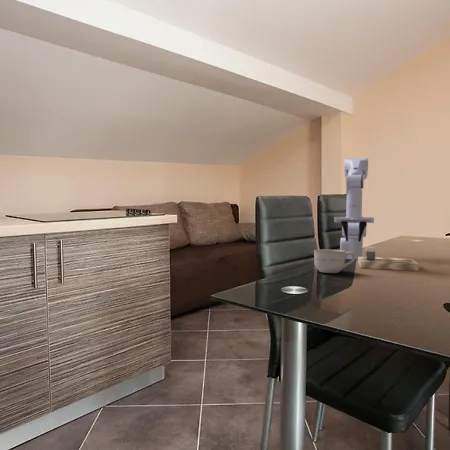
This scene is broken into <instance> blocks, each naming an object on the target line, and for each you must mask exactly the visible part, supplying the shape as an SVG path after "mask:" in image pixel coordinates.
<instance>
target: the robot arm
mask: <svg viewBox="0 0 450 450" xmlns="http://www.w3.org/2000/svg"><path fill="white" fill-rule="evenodd" d="M343 169H344V177H345V191H346V205H345V206H346V207H345V208H346V209H345V210H346V211H345V214H346V215H345V216H334V218H333V219H334V220H333V221H334V223H340V224H341V226H342V227H341V235H342V236H343V237H341V238H340V241H339V245H340V247H339V250H344V251H345V253H346V252H352V253H354V255H355V260H357V261H358V257H364V256H363V251H364V250H363V249H364V248H363V247H364V245H363V243H364V238H366V236H367V226H368V224H369V223H370V224H374V223H375V218H374V217H367V216H366V217H365V216H363V213H362V212H363V190H364V184H365V181H364V180H367V178H368V173H369V172H368V171H369V158H368V157H359V158H358V157H357V158H348V157H346V158H345V159H344V168H343ZM351 259H352V255H350V254H348V255H347V256H346V259H345V260H351Z"/></svg>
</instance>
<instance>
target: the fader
mask: <svg viewBox="0 0 450 450" xmlns="http://www.w3.org/2000/svg"><path fill="white" fill-rule="evenodd" d="M365 257H366V259H372V260H375V257H376V247H375V246H365Z"/></svg>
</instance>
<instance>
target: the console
mask: <svg viewBox="0 0 450 450" xmlns="http://www.w3.org/2000/svg"><path fill="white" fill-rule="evenodd" d="M357 263H358V265H359V268H360V269H369V270H370V269H371V270H372V269H373V270H374V269H375V270H396V271H420V270H419V269H420V268H419V267H420V263H418V262H417V261H416V260H415V259H413V258H405V257H404V258H401V257H380V256H379V257H378V256H377V257H376V256H375V260H372V259H366V256H363V257H358V260H357Z"/></svg>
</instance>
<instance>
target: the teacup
mask: <svg viewBox="0 0 450 450" xmlns="http://www.w3.org/2000/svg"><path fill="white" fill-rule="evenodd" d="M313 253H314V254H313V256H314V257H313V261H314V267H315V269H316V270H318V271H319V272H320V273H324V274H337V273H340V272H341V271H342V270H343V269H345V268H347V267H348V266H350V265H351V264H353V263H354V262H355V260H356V259H355V255H354V253H352V252H346V253H345V251H344V250H340V249H328V248H327V249H326V248H325V249H324V248H322V249H313ZM348 254H350V255H352V259H350V260H349V261H347V262H345V261H346V260H347V259H346V256H347V255H348Z"/></svg>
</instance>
